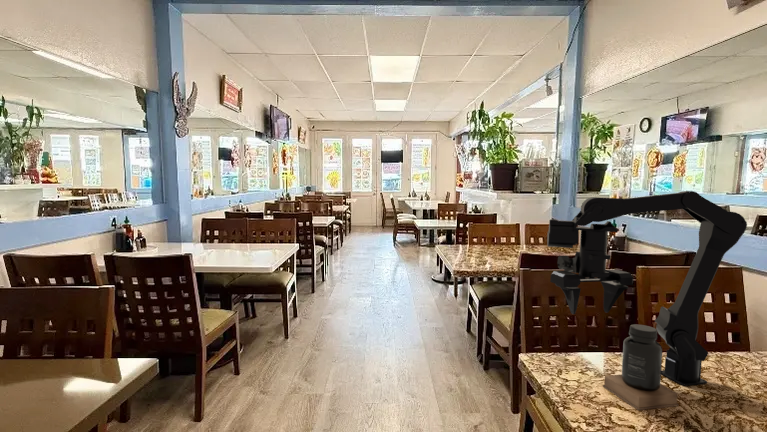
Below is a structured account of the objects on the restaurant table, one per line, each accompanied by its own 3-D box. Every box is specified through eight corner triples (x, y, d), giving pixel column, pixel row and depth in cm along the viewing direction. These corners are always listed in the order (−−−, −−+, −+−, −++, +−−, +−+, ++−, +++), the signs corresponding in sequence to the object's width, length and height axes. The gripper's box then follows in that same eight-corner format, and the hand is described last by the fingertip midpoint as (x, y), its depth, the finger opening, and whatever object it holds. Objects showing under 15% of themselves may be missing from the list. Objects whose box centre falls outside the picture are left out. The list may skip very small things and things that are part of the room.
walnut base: (639, 383, 89) (640, 372, 88) (678, 405, 79) (679, 393, 79) (602, 386, 87) (603, 375, 87) (638, 410, 78) (638, 397, 77)
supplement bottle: (668, 391, 80) (672, 333, 79) (638, 393, 79) (641, 334, 78) (642, 375, 87) (645, 321, 86) (613, 377, 86) (616, 322, 85)
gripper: (602, 244, 105) (599, 302, 107) (538, 245, 102) (536, 304, 103) (636, 250, 95) (632, 315, 96) (566, 251, 91) (563, 318, 92)
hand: (589, 312), depth 97 cm, fingers open, 9 cm apart
